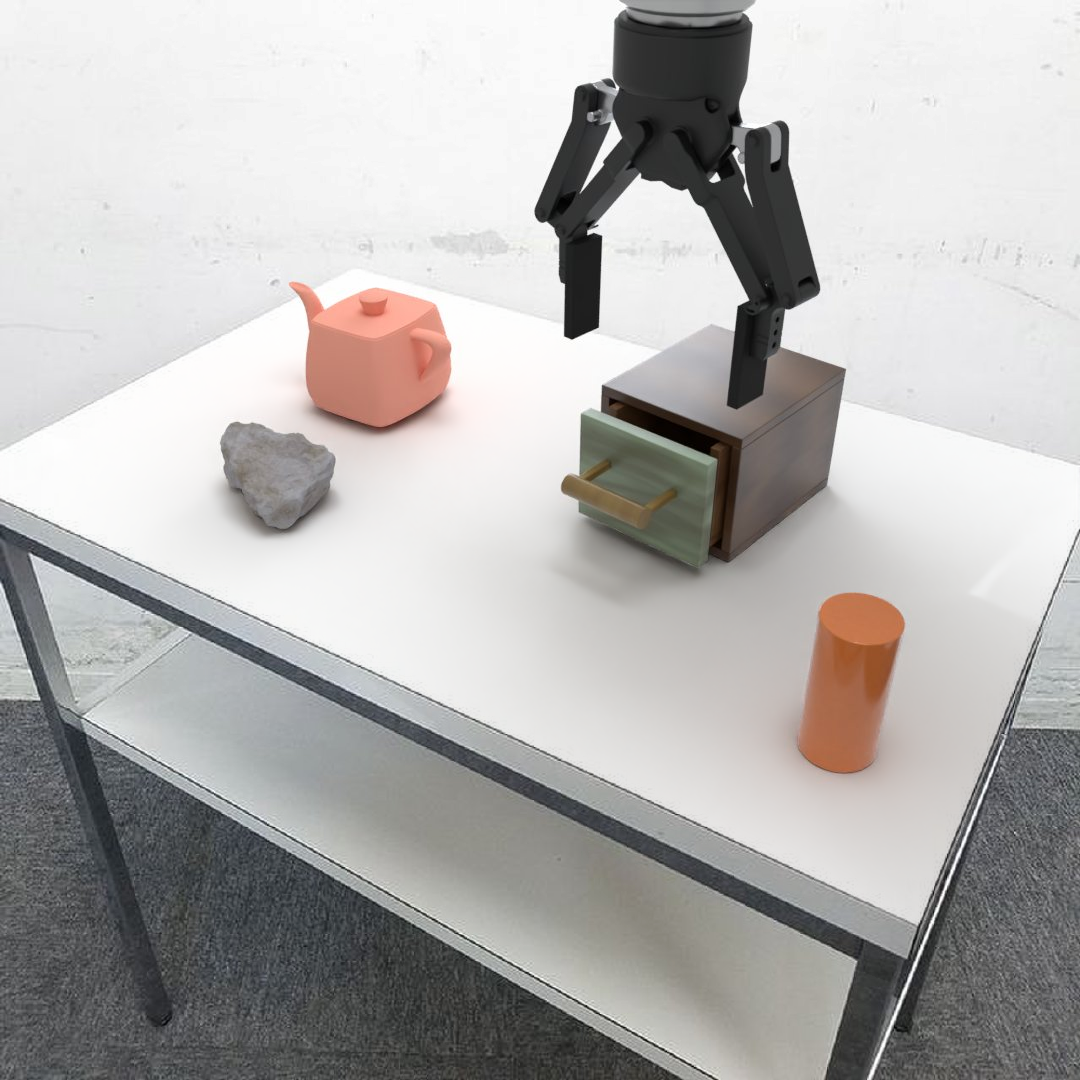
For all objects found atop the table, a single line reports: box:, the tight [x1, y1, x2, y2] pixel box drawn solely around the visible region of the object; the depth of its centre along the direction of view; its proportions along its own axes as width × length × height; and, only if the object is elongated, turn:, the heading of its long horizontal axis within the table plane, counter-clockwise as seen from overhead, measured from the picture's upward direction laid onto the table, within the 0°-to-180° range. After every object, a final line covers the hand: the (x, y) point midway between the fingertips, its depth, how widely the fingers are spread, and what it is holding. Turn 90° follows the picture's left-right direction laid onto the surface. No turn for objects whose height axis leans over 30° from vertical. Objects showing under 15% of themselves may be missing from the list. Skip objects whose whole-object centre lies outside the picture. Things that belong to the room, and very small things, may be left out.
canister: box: [796, 592, 906, 774], centre depth 70 cm, size 5×5×10 cm
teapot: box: [288, 281, 452, 428], centre depth 107 cm, size 12×18×10 cm, turn 57°
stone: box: [219, 421, 337, 530], centre depth 94 cm, size 10×8×6 cm
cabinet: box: [600, 323, 847, 563], centre depth 94 cm, size 15×13×11 cm
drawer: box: [560, 401, 732, 569], centre depth 90 cm, size 18×11×9 cm, turn 139°
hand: (659, 365), depth 77 cm, fingers open, 13 cm apart
